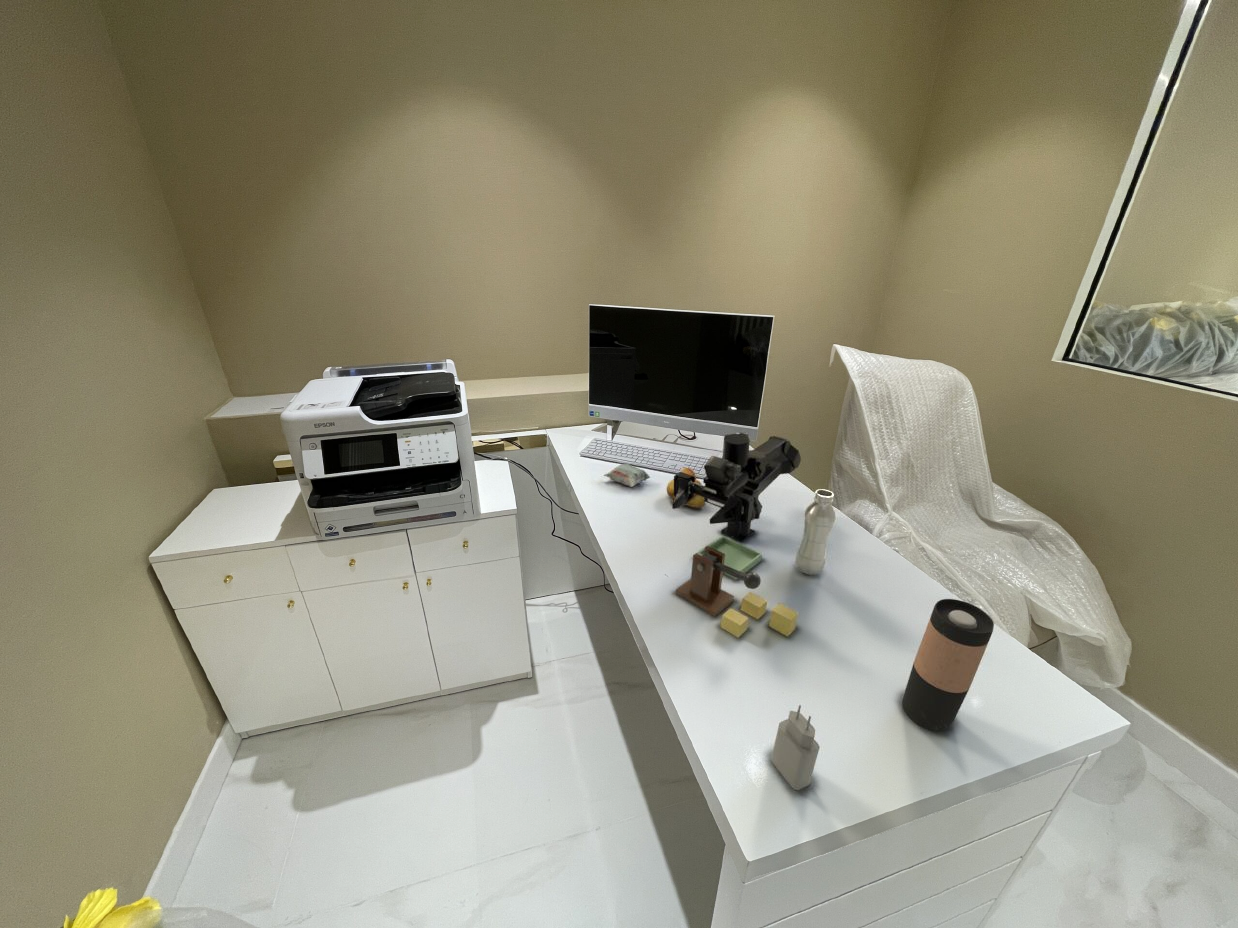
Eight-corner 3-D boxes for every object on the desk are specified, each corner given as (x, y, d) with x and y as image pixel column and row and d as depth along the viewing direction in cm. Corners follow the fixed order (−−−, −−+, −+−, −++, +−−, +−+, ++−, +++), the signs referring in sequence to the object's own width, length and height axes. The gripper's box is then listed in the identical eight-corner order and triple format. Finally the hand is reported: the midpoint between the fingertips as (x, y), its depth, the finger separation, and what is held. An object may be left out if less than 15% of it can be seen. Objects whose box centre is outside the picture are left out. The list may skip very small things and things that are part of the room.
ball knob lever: (763, 586, 96) (764, 572, 95) (754, 594, 94) (755, 579, 93) (707, 563, 105) (707, 549, 104) (698, 569, 103) (698, 555, 102)
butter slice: (776, 618, 101) (779, 602, 99) (794, 628, 98) (798, 612, 96) (768, 626, 99) (771, 610, 97) (787, 636, 96) (791, 620, 94)
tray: (722, 541, 126) (723, 535, 125) (761, 560, 119) (762, 553, 118) (696, 559, 119) (696, 552, 118) (736, 580, 112) (737, 573, 111)
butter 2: (748, 603, 105) (750, 591, 104) (765, 612, 102) (767, 600, 101) (740, 609, 103) (742, 598, 102) (757, 619, 100) (759, 607, 99)
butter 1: (729, 619, 100) (730, 607, 99) (746, 629, 98) (748, 617, 96) (720, 627, 98) (722, 615, 97) (738, 637, 96) (740, 625, 94)
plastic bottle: (824, 565, 118) (841, 489, 109) (821, 581, 112) (839, 503, 104) (795, 558, 120) (810, 483, 112) (791, 573, 114) (807, 496, 106)
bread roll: (712, 508, 142) (715, 482, 138) (682, 514, 138) (685, 488, 135) (688, 488, 152) (690, 464, 149) (660, 494, 149) (662, 469, 145)
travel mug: (890, 693, 84) (922, 598, 76) (933, 691, 85) (969, 596, 77) (918, 734, 78) (957, 635, 69) (965, 731, 78) (1009, 632, 70)
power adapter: (785, 749, 75) (799, 691, 70) (812, 782, 70) (829, 722, 65) (768, 758, 73) (781, 699, 68) (795, 792, 69) (811, 731, 64)
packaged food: (632, 492, 149) (633, 477, 147) (603, 480, 156) (603, 466, 154) (650, 483, 155) (651, 469, 153) (621, 472, 162) (621, 458, 160)
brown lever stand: (733, 600, 105) (740, 558, 101) (714, 616, 101) (720, 572, 96) (695, 579, 112) (699, 538, 107) (675, 593, 107) (679, 551, 103)
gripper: (693, 441, 117) (654, 468, 107) (769, 463, 106) (733, 495, 96) (692, 482, 122) (655, 511, 112) (764, 507, 112) (730, 542, 101)
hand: (691, 514), depth 105 cm, fingers open, 9 cm apart
